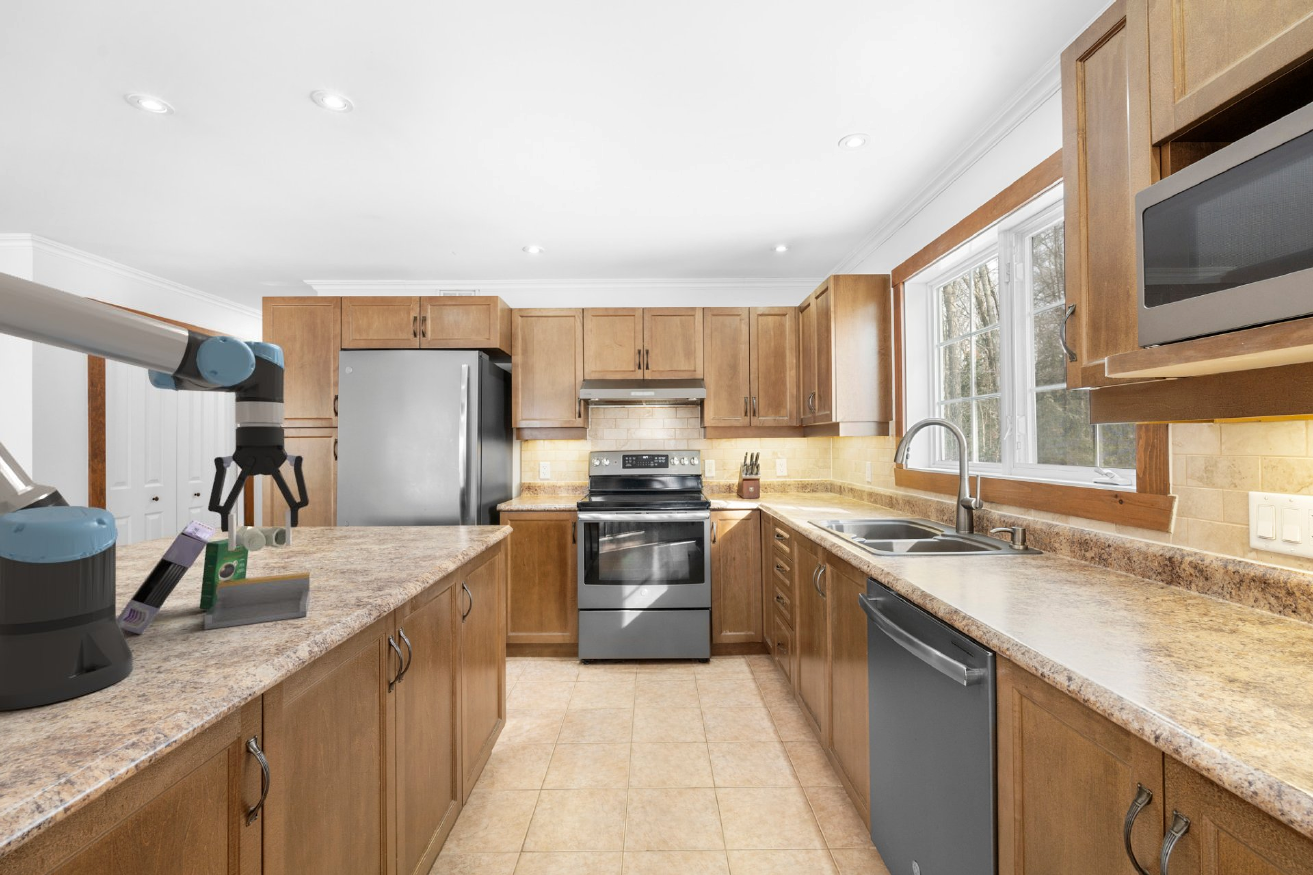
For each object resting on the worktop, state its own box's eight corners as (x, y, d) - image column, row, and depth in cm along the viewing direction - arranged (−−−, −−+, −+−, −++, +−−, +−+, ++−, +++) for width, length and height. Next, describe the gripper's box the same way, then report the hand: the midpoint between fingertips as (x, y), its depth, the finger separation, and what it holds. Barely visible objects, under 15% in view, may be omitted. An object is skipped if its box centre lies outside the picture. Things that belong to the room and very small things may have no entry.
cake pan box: (143, 638, 96) (208, 540, 101) (107, 628, 93) (176, 529, 98) (161, 610, 111) (217, 528, 116) (131, 601, 109) (189, 517, 114)
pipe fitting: (258, 554, 102) (288, 545, 109) (257, 533, 102) (286, 525, 109) (219, 553, 103) (251, 544, 110) (218, 532, 103) (249, 524, 110)
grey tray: (306, 616, 106) (305, 586, 106) (204, 629, 99) (204, 597, 99) (310, 599, 118) (310, 572, 118) (219, 610, 110) (219, 581, 111)
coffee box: (232, 598, 118) (238, 535, 118) (245, 599, 118) (251, 536, 118) (198, 609, 110) (203, 542, 110) (211, 611, 110) (217, 543, 110)
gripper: (325, 426, 115) (326, 539, 115) (194, 426, 105) (195, 549, 105) (324, 425, 109) (324, 544, 108) (184, 424, 99) (185, 556, 99)
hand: (261, 546), depth 107 cm, fingers closed on pipe fitting, 8 cm apart
